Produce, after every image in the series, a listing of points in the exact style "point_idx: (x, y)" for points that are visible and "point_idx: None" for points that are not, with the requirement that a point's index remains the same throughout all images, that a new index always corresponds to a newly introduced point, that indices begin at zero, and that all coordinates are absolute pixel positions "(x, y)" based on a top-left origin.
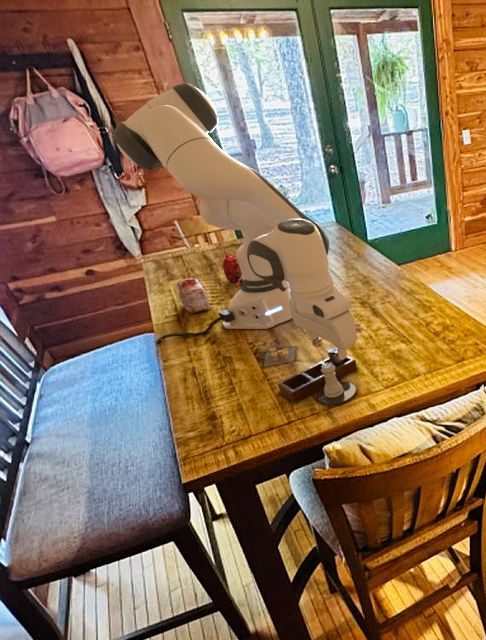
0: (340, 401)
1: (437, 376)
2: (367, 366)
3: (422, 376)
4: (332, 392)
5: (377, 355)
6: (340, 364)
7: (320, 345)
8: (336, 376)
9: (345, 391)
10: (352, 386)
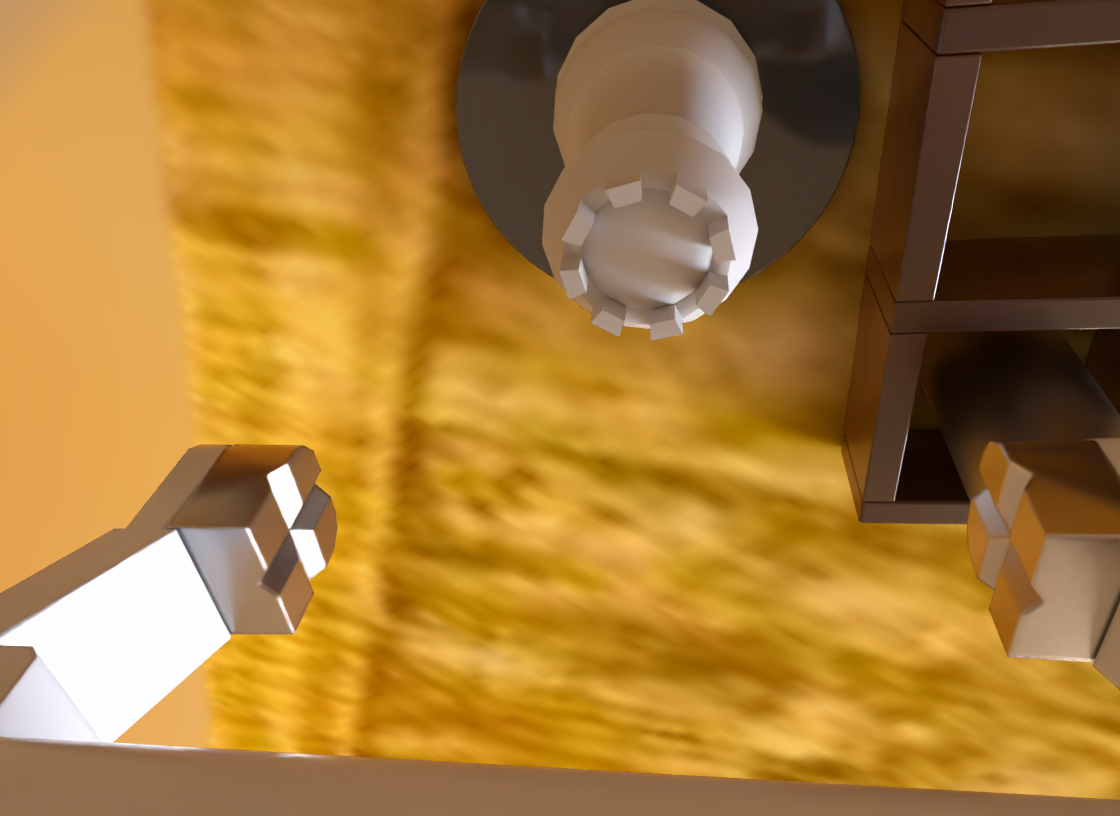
0: (475, 62)
1: (307, 647)
2: (797, 511)
3: (368, 612)
4: (569, 66)
5: (854, 621)
6: (945, 408)
7: (973, 508)
8: (876, 277)
9: None
10: None
